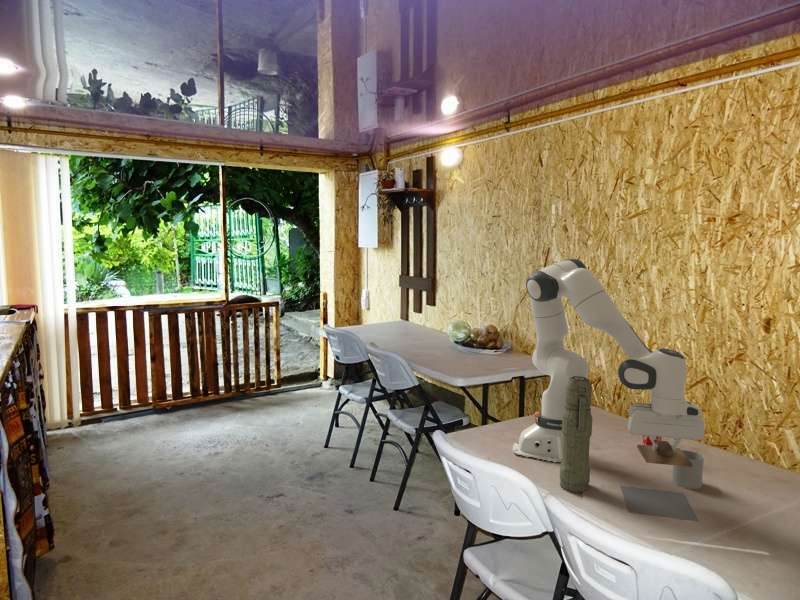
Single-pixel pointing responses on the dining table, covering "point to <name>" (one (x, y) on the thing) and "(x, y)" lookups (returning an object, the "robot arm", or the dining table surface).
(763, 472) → the dining table surface
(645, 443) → the soda can
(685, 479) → the cup
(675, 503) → the mat
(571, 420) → the thermos
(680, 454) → the lid
